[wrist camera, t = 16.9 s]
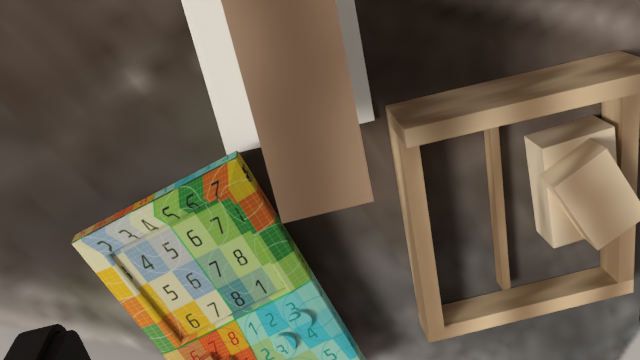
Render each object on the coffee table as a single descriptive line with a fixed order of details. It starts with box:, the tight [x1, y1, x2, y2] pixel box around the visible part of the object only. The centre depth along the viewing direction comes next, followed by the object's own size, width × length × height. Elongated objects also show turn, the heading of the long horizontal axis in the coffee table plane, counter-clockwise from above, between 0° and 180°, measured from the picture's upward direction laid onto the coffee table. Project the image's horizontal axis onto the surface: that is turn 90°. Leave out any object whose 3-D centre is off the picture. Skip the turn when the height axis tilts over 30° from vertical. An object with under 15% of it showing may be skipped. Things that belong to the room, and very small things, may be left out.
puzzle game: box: [71, 151, 366, 360], centre depth 40 cm, size 12×5×20 cm
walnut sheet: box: [221, 0, 374, 224], centre depth 28 cm, size 4×10×14 cm, turn 12°
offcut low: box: [524, 115, 617, 248], centre depth 40 cm, size 5×8×3 cm, turn 16°
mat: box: [181, 0, 375, 155], centre depth 35 cm, size 10×13×1 cm
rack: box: [385, 51, 640, 343], centre depth 39 cm, size 16×18×5 cm
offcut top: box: [539, 138, 640, 250], centre depth 38 cm, size 4×6×2 cm, turn 40°
